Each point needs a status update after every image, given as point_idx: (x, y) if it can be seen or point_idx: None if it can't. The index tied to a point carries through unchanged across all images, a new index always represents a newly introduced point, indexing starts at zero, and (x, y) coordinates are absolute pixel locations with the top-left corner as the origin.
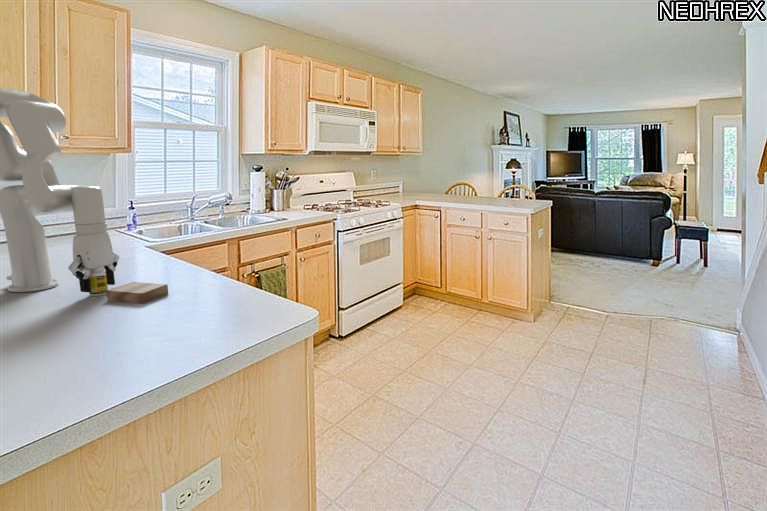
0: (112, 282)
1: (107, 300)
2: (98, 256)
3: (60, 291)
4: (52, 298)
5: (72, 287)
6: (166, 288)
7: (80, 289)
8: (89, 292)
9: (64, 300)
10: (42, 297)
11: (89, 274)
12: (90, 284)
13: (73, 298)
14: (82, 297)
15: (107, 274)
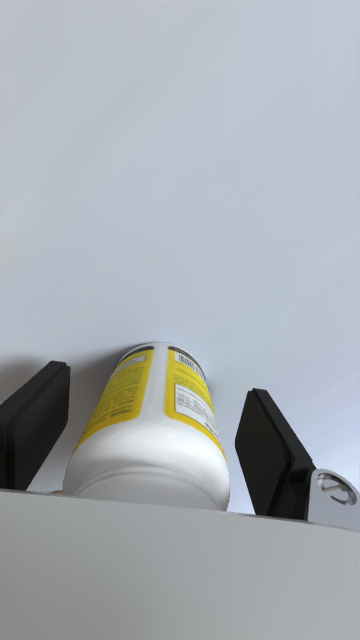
0: (238, 454)
1: (56, 492)
2: None
3: (200, 48)
4: (20, 156)
5: (325, 54)
6: None
7: (46, 365)
8: (118, 364)
9: (5, 279)
10: (22, 40)
11: (67, 488)
12: (43, 461)
13: (54, 302)
14: (84, 338)
15: (266, 476)
